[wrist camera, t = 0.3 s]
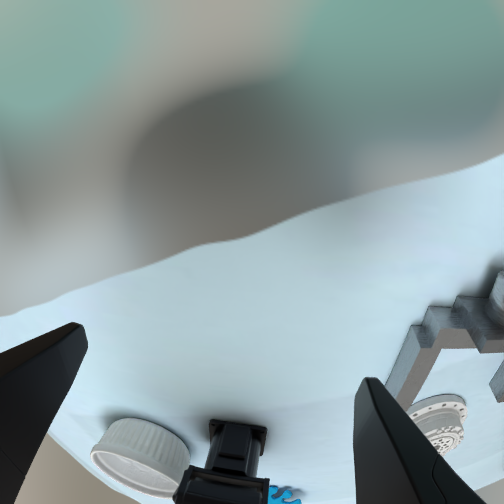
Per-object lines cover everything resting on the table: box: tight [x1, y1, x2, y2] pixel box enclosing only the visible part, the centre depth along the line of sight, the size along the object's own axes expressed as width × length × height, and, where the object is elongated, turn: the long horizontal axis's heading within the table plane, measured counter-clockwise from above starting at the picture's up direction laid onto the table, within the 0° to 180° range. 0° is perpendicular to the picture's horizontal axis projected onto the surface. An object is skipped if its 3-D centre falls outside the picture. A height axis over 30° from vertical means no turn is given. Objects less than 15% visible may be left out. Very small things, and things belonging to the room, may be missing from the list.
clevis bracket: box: [385, 270, 504, 412], centre depth 21 cm, size 14×16×6 cm
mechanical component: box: [406, 395, 467, 456], centre depth 27 cm, size 10×4×10 cm
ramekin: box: [90, 418, 190, 499], centre depth 34 cm, size 13×13×7 cm
